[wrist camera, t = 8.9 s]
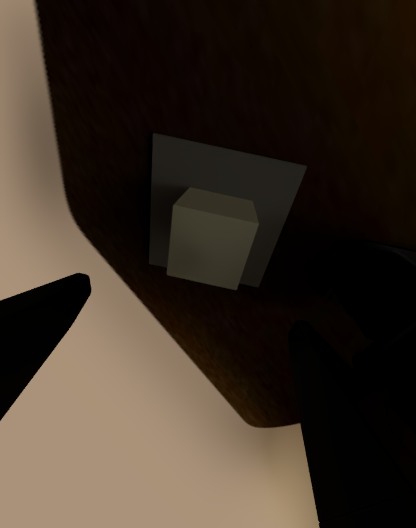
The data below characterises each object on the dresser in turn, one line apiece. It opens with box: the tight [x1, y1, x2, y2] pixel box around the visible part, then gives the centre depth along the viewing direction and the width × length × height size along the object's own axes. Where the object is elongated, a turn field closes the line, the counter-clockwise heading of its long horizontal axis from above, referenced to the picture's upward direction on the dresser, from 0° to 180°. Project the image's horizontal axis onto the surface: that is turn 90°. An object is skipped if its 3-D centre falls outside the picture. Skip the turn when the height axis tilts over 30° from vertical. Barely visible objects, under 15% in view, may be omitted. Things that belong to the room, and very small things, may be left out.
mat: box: [149, 133, 307, 287], centre depth 17 cm, size 11×11×1 cm
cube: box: [167, 187, 259, 290], centre depth 15 cm, size 5×5×5 cm
